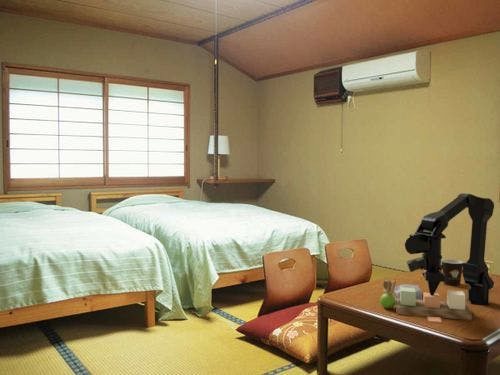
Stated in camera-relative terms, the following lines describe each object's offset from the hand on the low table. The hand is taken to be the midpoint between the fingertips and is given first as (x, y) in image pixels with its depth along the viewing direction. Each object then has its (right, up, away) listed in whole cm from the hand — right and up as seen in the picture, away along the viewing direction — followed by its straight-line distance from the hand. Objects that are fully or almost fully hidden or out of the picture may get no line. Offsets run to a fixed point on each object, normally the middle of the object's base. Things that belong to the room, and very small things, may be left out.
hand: (431, 294), depth 158 cm
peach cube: (0, -5, 0) cm, 5 cm away
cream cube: (+8, -4, -2) cm, 9 cm away
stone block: (-2, -6, +20) cm, 20 cm away
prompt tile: (-2, -7, -8) cm, 11 cm away
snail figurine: (-14, -6, +4) cm, 16 cm away
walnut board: (0, -6, 0) cm, 6 cm away
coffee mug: (+22, -4, +37) cm, 43 cm away
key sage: (-8, -4, +2) cm, 9 cm away
